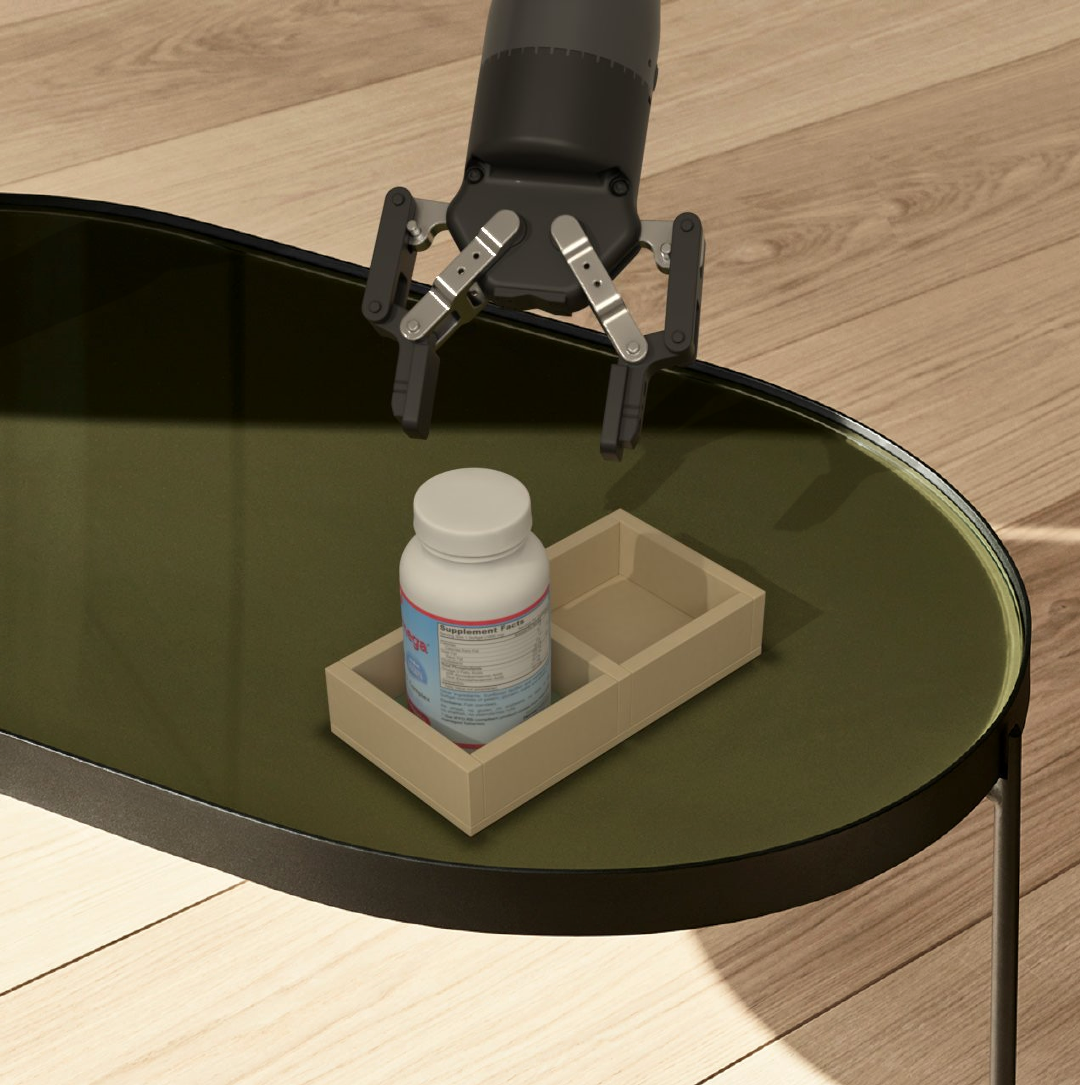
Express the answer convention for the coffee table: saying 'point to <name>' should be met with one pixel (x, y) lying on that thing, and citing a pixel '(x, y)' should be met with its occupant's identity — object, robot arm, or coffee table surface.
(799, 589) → the coffee table surface
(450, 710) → the pill bottle
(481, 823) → the holder
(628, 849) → the coffee table surface
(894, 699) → the coffee table surface
